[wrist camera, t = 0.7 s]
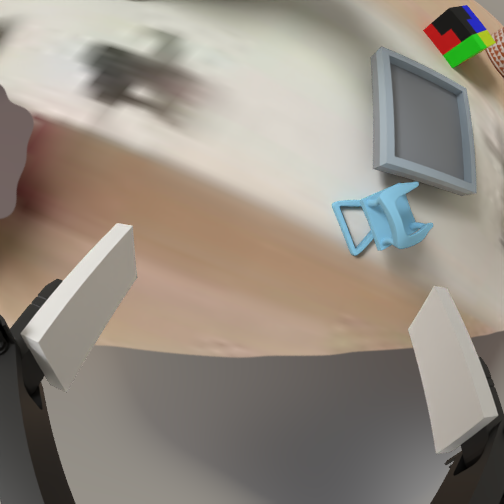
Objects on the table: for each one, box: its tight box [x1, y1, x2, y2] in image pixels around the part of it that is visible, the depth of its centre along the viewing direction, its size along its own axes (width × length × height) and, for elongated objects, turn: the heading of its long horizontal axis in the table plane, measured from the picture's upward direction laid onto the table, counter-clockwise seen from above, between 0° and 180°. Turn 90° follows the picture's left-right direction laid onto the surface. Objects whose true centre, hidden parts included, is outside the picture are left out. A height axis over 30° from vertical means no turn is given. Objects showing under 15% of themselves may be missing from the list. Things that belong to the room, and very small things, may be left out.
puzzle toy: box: [423, 5, 496, 68], centre depth 39 cm, size 10×10×10 cm
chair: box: [332, 181, 433, 256], centre depth 35 cm, size 8×8×12 cm
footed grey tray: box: [371, 46, 476, 196], centre depth 39 cm, size 19×18×7 cm
